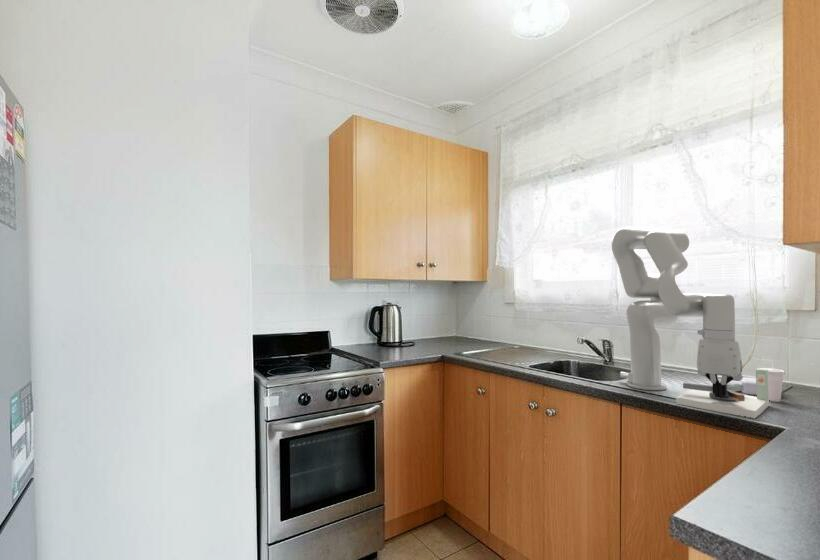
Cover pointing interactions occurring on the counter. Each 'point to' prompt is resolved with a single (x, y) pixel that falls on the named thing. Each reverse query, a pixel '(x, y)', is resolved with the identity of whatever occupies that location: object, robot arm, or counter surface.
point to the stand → (742, 408)
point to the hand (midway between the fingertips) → (719, 396)
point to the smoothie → (775, 382)
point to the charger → (746, 385)
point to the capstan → (729, 397)
